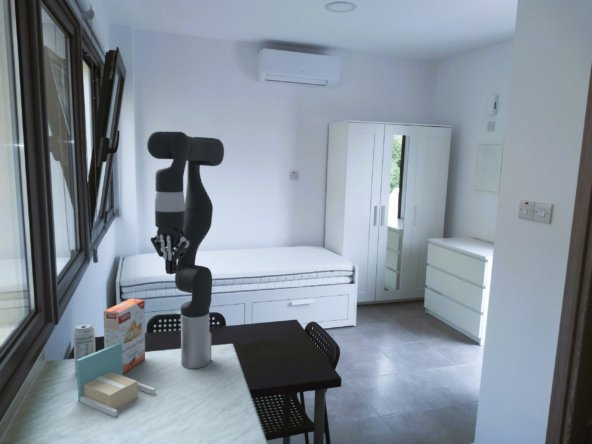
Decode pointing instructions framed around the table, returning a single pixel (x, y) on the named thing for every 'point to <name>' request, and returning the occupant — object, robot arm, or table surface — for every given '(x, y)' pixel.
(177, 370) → the table surface
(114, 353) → the display stand
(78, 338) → the energy drink can
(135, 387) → the kraft carton
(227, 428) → the table surface
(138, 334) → the cracker box
